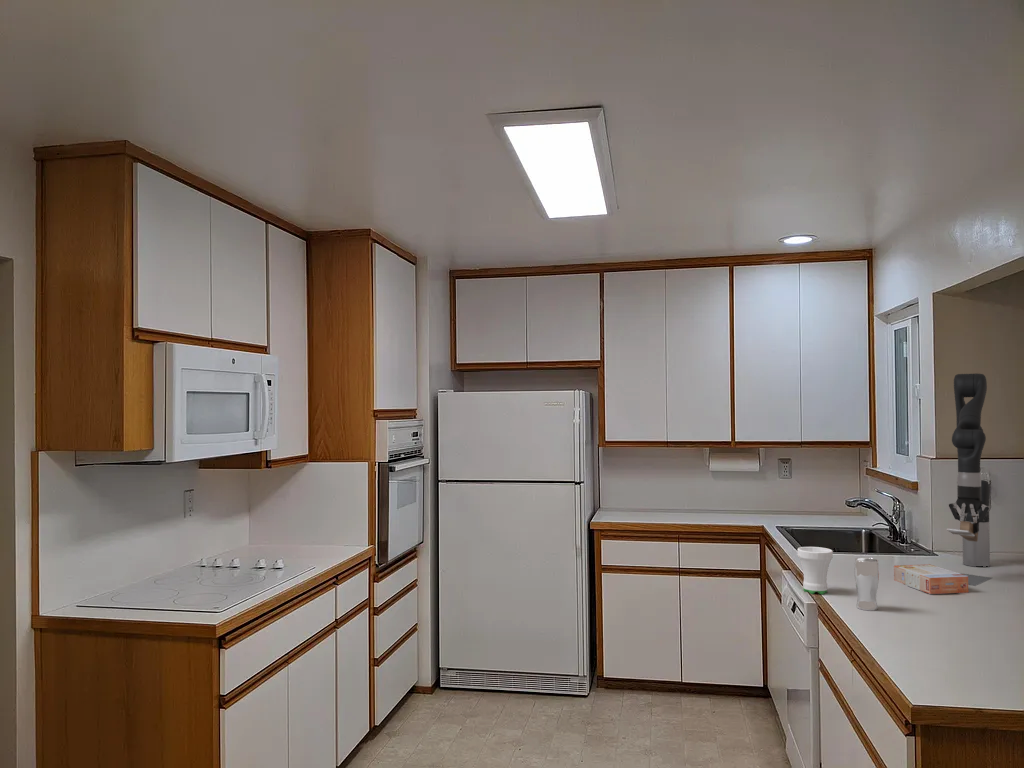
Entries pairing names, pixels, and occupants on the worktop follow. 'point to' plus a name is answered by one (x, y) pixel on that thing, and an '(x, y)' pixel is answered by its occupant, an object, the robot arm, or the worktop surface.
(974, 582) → the mat
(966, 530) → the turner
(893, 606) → the worktop surface
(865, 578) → the beer glass
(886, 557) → the worktop surface
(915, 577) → the cracker box
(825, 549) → the cup
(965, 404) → the robot arm
